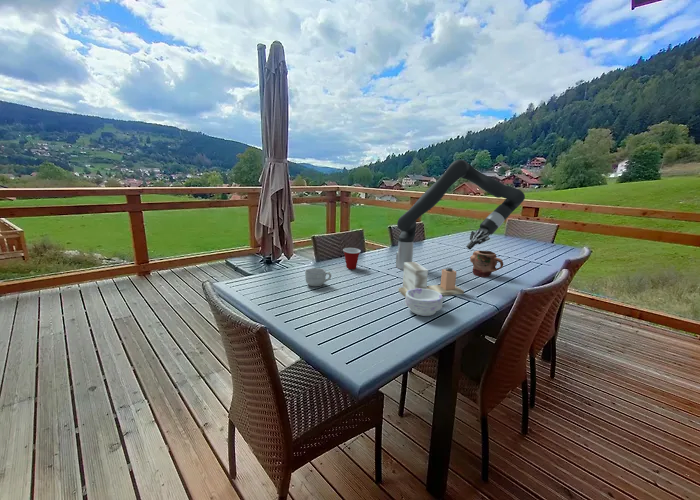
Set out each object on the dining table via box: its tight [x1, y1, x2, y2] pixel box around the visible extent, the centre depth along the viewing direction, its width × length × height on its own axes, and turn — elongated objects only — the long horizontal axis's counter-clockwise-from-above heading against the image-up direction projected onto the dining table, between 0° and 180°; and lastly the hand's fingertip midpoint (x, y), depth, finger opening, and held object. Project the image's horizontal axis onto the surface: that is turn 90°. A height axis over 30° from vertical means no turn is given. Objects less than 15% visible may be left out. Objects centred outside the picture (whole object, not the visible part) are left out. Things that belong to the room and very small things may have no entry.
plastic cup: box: [342, 247, 361, 270], centre depth 183 cm, size 11×11×12 cm
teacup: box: [304, 267, 332, 287], centre depth 154 cm, size 14×11×8 cm
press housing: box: [398, 261, 465, 298], centre depth 146 cm, size 30×14×14 cm, turn 102°
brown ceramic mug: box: [469, 249, 504, 278], centre depth 172 cm, size 20×12×14 cm, turn 40°
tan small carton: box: [440, 267, 457, 290], centre depth 147 cm, size 5×5×10 cm
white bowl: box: [404, 288, 444, 317], centre depth 125 cm, size 15×15×8 cm
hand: (468, 248), depth 149 cm, fingers closed
